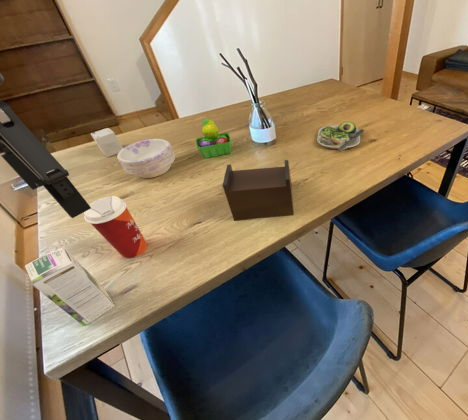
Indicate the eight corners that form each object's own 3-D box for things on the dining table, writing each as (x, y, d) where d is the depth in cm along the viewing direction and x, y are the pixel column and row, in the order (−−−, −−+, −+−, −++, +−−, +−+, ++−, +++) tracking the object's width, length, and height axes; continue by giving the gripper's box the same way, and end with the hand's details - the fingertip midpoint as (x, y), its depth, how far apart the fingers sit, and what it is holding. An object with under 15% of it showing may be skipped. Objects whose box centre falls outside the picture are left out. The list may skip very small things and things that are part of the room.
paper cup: (157, 248, 67) (128, 205, 57) (123, 267, 63) (86, 224, 53) (144, 232, 71) (116, 189, 61) (111, 249, 67) (75, 206, 57)
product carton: (125, 151, 101) (114, 132, 96) (107, 157, 98) (95, 138, 93) (119, 145, 104) (108, 127, 99) (101, 151, 101) (89, 133, 96)
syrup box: (74, 309, 55) (20, 266, 45) (106, 289, 59) (62, 245, 49) (84, 327, 53) (28, 285, 43) (117, 305, 56) (72, 261, 46)
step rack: (293, 215, 75) (289, 179, 67) (233, 220, 74) (222, 185, 66) (291, 182, 86) (287, 148, 78) (239, 186, 85) (229, 152, 76)
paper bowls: (154, 154, 99) (145, 134, 94) (188, 162, 95) (180, 141, 89) (117, 177, 89) (104, 156, 83) (153, 188, 84) (142, 166, 79)
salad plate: (363, 155, 97) (364, 144, 94) (313, 153, 99) (312, 141, 96) (363, 130, 112) (364, 119, 108) (320, 128, 113) (319, 117, 110)
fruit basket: (201, 161, 96) (190, 131, 88) (199, 149, 102) (189, 119, 94) (234, 154, 99) (226, 124, 91) (231, 143, 105) (223, 114, 97)
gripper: (23, 59, 28) (125, 210, 43) (-54, 35, 38) (50, 165, 52) (-83, 80, 24) (72, 242, 38) (-139, 47, 33) (1, 186, 48)
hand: (60, 198), depth 45 cm, fingers open, 13 cm apart
